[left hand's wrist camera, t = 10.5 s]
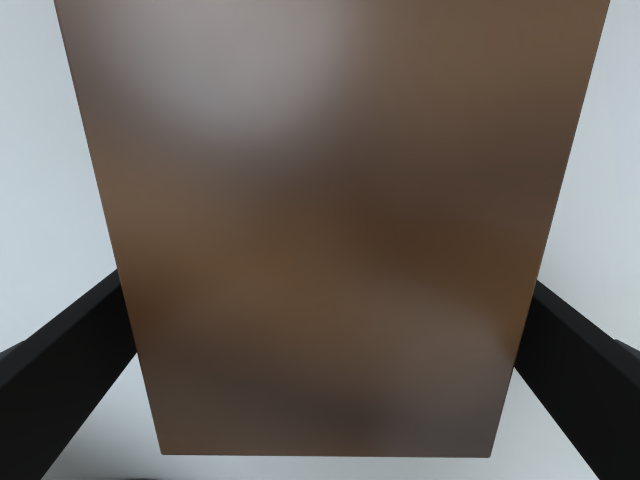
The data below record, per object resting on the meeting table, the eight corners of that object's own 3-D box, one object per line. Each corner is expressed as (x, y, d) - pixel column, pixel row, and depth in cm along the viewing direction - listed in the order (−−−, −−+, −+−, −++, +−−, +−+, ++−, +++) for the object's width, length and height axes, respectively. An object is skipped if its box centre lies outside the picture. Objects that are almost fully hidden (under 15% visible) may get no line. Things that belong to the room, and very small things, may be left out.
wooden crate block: (178, -185, 12) (-154, -857, 4) (478, -186, 12) (843, -873, 4) (231, 305, 19) (160, 456, 11) (417, 306, 19) (491, 459, 11)
